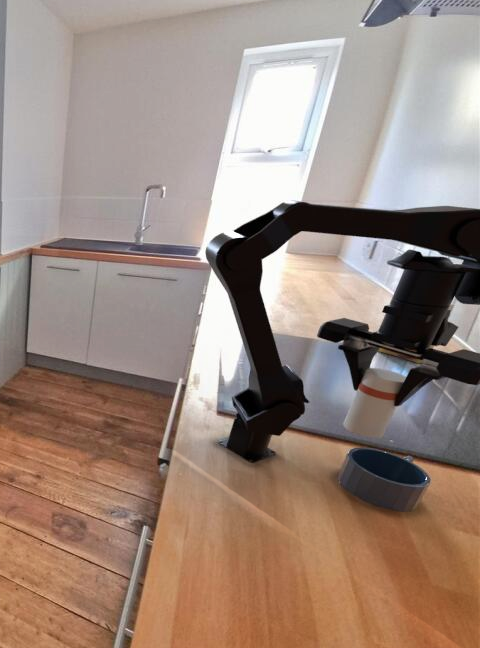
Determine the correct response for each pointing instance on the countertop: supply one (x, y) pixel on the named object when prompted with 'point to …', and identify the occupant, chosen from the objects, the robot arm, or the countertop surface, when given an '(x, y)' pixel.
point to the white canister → (374, 403)
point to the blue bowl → (383, 479)
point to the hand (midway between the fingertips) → (376, 397)
